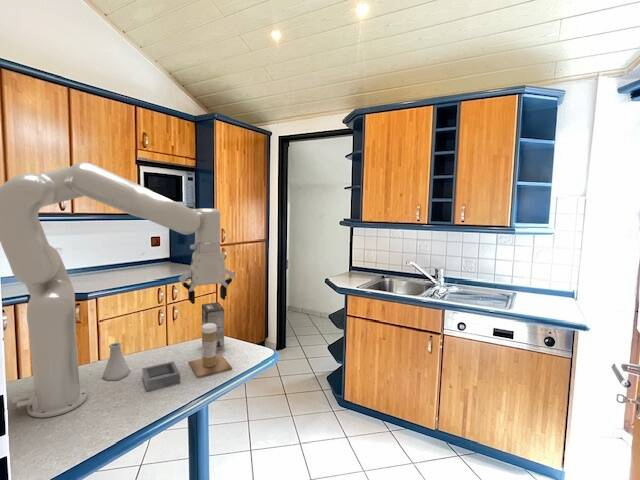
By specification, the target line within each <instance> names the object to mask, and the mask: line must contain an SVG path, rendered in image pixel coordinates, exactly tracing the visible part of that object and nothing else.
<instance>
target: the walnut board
mask: <svg viewBox="0 0 640 480" xmlns="http://www.w3.org/2000/svg"><path fill="white" fill-rule="evenodd" d="M187 362H188V363H187V364H188V365H189V366H188V367H190V369H191V371H192V373H193V375H194V376H195V377H196V379H197V378H198V379H201V377H202V378H206V377H209V376H213V375H217V374H220V372H221V373H224V371H225V372H228V371H232V370H233V367H232V366H231V364H230V363H229V362H228V361H227V360H226V358H225V357H224V356H223V355H222V354H220V353H219V354H216V362H217V363H216V365H214V366H212V367H204V366H203V365H202V363H203V357H202V358H199V359H198V358H197V359H195V360H189V361H187ZM205 376H206V377H205Z"/></svg>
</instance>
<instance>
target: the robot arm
mask: <svg viewBox="0 0 640 480" xmlns="http://www.w3.org/2000/svg"><path fill="white" fill-rule="evenodd" d="M83 197H86V198H88V199H91V200H93V201H96V202H99V203H101V204H104V205H106V206H107V207H108V206H109V207H111V208H113V209H116V210H118V211H121V212H123V213H126V214H128V215H131V216H133V217H138V218H140V219H144V220H147V221H149V222H153V223H155V224H158V225H160V226H163V227H165V228H166V229H170V230H172V231H174V232H177V233H180V234H182V235H192V234H194V236H195V237H194V244H190V245H189V248H190V250H194V252H192V255H191V262H190V271H188V272H186V273H184V274H182V275H180V276H179V277H178V280H179V281H180V283H181V285H182V287H183V288H185V289H186V290H187V291H188V293H187V298H188V301H189V303H191V304H192V305H194V304H195V303H196V301H195V300H196V295H195V294H196V291H195V288H196V287H197V286H206V285H207V286H209V285H216V284H220V287H219V288H220V289H219V293H220V295H219V296H220V299H222V300H224V301H225V300H226V297H227V293H228V291H227V290H228V287H229V285H230V284H231V283H232V282H233V279H234V277H235V275H236V274H235V272H234V271H231V270H229V269H227V268H226V263H225V255H224V252H223V251H221V212H220V210H219V209H217V208H211V207H210V208H206V207H205V208H203V207H202V208H200V207H199V208H190V207H187V206H186V205H183V204H181V203H180V202H177V201H174V200H172V199H170V198H168V197H165V196H163V195H161V194H159V193H157V192H156V191H155V192H154V191H153V190H151V189H149V188H147V187H145V186H143V185H140V184H139V183H137V182H133V181H131V180H130V179H127V178H125V177H122V176H121V175H119V174H116V173H113V172H112V171H109V170H107V169H106V168H103V167H101V166H99V165H96V164H94V163H91V162H87V161H81V162H80V161H79V162H77V163H74V164H73V165H71V166H68V167H64V168H59V169H54V170H49V171H45V172H39V173H35V172H27V173H21V174H18V175H15V176H13V177H12V178H10V179H8V180H7V181H6V182H5V183H3V184H2V185H1V186H0V245H1V248H2V251H3V252H4V254H5V257H6V259H7V262H8V264H9V267H10V270H11V272H12V274H13V276H14V277H15V279H16V280H18V281H19V282H20V283H22V284H24V285H25V287H26V289H27V291H28V293H29V296H30V298H29V300H28V303H27V306H26V321H27V328H28V333H29V343H30V344H29V345H30V353H31V367H32V381H33V391H32V392H31V391H30V392H28V394H24V395H17V396H12V398H11V405H12V406H16V408H17V409H19V408H23V407H25V406H27V408H26V409H27V414H28V415H29V414H30V415H29V416H31V417H33V418H51V417H55V416H59V415H64V414H66V413H68V412H71V411H72V410H74V409H77V408H78V407H80V406H81V405H82V404H83V403H84V402H85V401H86V399H87V397H88V393H87V390H86V389H85V388H83V387H80V376H79V375H80V373H79V370H80V369H79V356H78V353H79V352H78V341H77V325H76V294H75V293H76V292H75V290H74V286H73V284H72V282H71V278H70V276H69V274H68V272H67V269H66V266H65V264H64V261H63V260H62V259H63V258H62V256H61V254H60V253H59V251H58V250H57V249H56V248H55V247H53V246H52V245H50V243H49V241H48V239H47V237H46V234H45V230H44V227H43V226H42V223H41V221H40V218H39V211H40V209H42V208H44V207H47V206H51V205H55V204H59V203H63V202H66V201H70V200H74V199H78V198H83ZM227 275H228V277H227ZM226 277H227V278H226ZM189 278H190V283H189V284H188V283H187V281H186V280H187V279H189Z"/></svg>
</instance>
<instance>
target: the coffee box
mask: <svg viewBox="0 0 640 480" xmlns="http://www.w3.org/2000/svg"><path fill="white" fill-rule="evenodd" d="M207 323H214V324H216V327H217V330H216V354H220V353H223V352H225V308H224V307H223V305H221V303H220V302H219V301H217V302H210V303H203V304H201V326H202V325H204V324H207Z"/></svg>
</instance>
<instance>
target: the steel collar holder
mask: <svg viewBox="0 0 640 480" xmlns="http://www.w3.org/2000/svg"><path fill="white" fill-rule="evenodd" d="M141 369H142V370H141V371H142V374H141V375H142V376H141V377H142V380H143V383H144V387H145V391H146V392H151V391H155V390H158V389H159V390H160V389H161V388H165V387H169V386H173V385H174V386H175V385H178V384H181V373H180V371H179V369H178V367H177V365H176V363H175V361H168V362H163V363H159V364H156V365H151V366H147V367H142V368H141ZM169 373H170V374H169ZM157 376H158V377H157Z"/></svg>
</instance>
